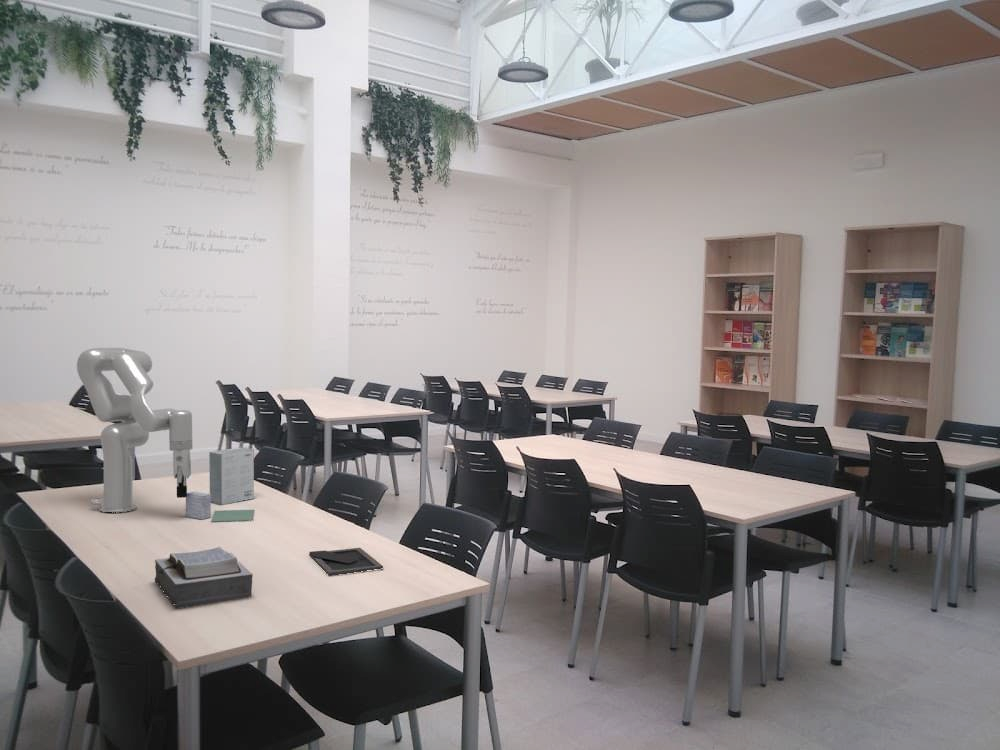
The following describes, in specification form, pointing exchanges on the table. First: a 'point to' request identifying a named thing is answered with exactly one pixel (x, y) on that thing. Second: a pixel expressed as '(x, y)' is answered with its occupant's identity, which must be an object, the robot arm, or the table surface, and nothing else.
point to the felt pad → (232, 515)
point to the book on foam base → (203, 577)
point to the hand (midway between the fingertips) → (181, 496)
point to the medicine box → (198, 505)
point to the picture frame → (344, 561)
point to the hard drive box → (231, 475)
